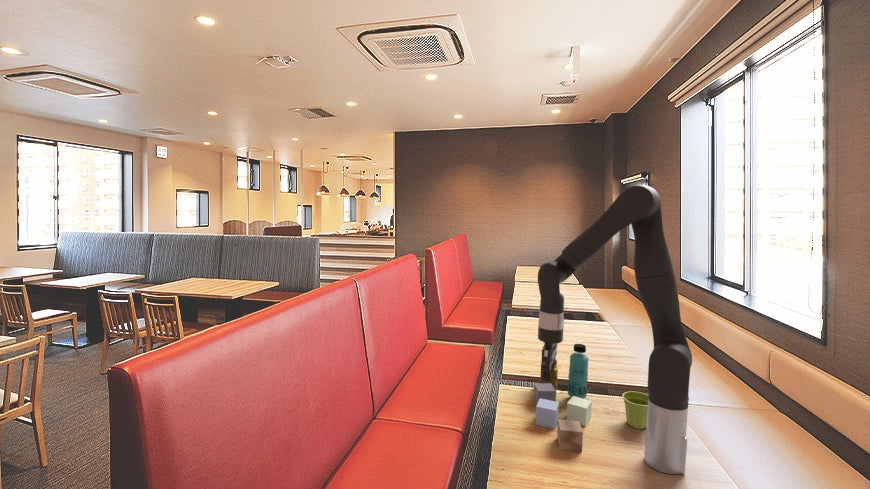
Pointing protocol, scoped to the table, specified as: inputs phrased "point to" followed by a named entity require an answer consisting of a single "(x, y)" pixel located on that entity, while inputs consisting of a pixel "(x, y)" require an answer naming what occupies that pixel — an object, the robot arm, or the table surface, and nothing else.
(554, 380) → the condiment
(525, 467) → the table surface
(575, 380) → the beverage bottle
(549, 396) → the charcoal block
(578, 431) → the walnut block
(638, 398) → the plant pot
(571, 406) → the sage block
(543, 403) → the slate blue block
